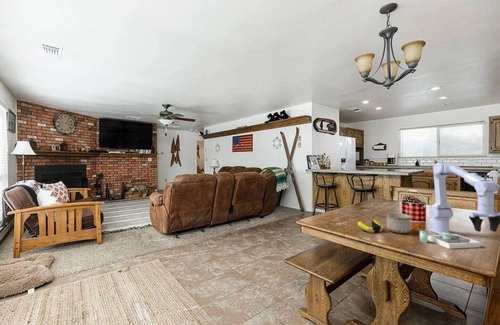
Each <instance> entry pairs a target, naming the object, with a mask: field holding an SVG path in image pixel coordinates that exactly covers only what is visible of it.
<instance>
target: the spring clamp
mask: <svg viewBox="0 0 500 325" xmlns="http://www.w3.org/2000/svg"><path fill="white" fill-rule="evenodd" d="M357 226H358V228H360V229H361V230H363V231H364V232H366V233H368V234H370V233H373V234H374V233H380V232H381V233H382V231H383V230H384V229H383V227H384V226H383V225H381V224H380V223H379V222H378V220H374V219H373V220H371V225H369V226H368V225H366V224H364V223H363V222H362V221H357Z"/></svg>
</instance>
